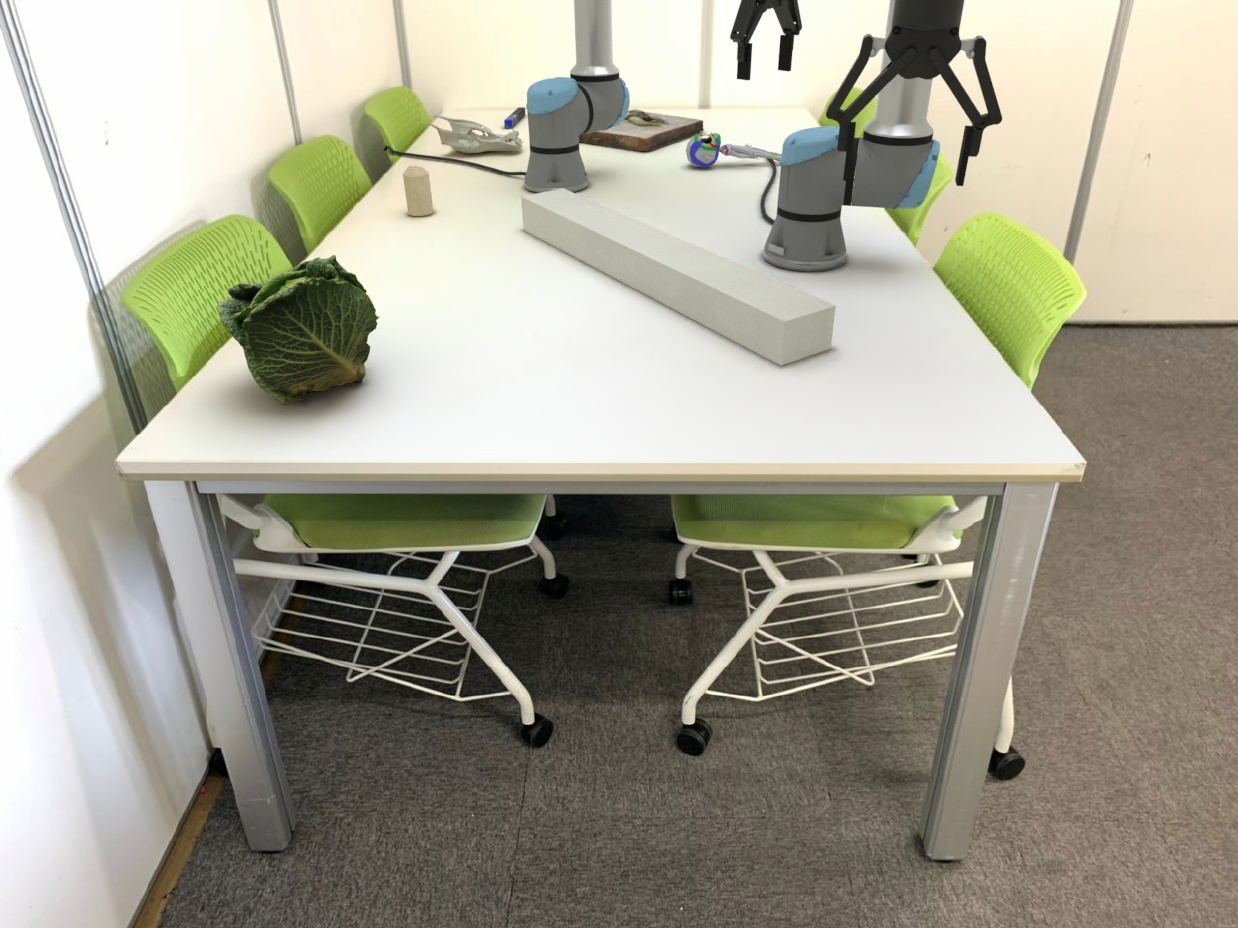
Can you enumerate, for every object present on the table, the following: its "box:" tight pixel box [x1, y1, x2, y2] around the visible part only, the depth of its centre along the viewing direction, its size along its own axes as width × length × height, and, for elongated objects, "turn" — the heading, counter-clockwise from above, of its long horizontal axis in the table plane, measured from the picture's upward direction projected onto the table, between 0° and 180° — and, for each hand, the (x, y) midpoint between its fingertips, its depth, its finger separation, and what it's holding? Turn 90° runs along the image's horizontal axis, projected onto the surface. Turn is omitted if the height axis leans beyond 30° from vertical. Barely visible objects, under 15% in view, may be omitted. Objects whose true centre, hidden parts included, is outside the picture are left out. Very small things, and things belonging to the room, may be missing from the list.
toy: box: [685, 132, 782, 168], centre depth 228 cm, size 10×8×30 cm
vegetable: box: [216, 254, 380, 405], centre depth 123 cm, size 20×19×20 cm
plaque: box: [579, 108, 705, 152], centre depth 257 cm, size 30×7×30 cm
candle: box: [402, 165, 434, 217], centre depth 195 cm, size 6×6×10 cm
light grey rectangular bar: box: [520, 188, 837, 367], centre depth 159 cm, size 79×10×7 cm, turn 34°
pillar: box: [503, 107, 526, 129], centre depth 277 cm, size 2×2×20 cm
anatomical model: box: [427, 114, 524, 154], centre depth 243 cm, size 15×9×25 cm
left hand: (764, 75), depth 179 cm, fingers open, 13 cm apart
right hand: (901, 181), depth 112 cm, fingers open, 13 cm apart
